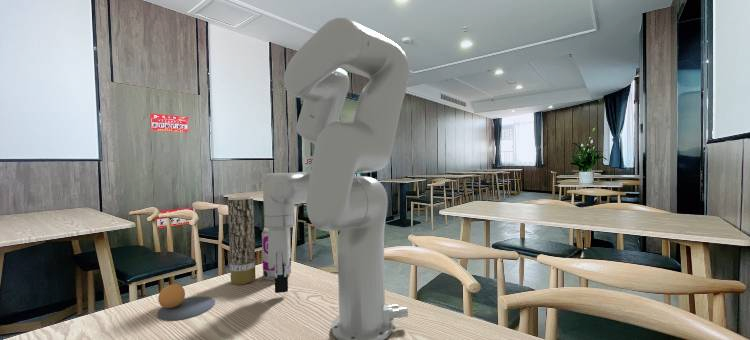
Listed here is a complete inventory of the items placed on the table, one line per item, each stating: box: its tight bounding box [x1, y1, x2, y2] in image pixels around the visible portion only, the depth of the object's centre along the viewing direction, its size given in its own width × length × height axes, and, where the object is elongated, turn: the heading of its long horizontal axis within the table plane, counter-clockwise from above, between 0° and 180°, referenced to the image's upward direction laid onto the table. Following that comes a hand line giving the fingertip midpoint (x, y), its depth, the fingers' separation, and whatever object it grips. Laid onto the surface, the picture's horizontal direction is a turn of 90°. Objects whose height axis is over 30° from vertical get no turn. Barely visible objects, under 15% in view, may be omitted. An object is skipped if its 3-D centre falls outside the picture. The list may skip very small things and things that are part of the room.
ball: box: [157, 283, 186, 308], centre depth 77 cm, size 6×6×6 cm
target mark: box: [157, 296, 216, 322], centre depth 77 cm, size 12×12×1 cm
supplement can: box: [261, 227, 292, 281], centre depth 97 cm, size 8×8×15 cm
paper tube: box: [227, 194, 257, 286], centre depth 93 cm, size 7×7×25 cm
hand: (281, 291), depth 82 cm, fingers closed
